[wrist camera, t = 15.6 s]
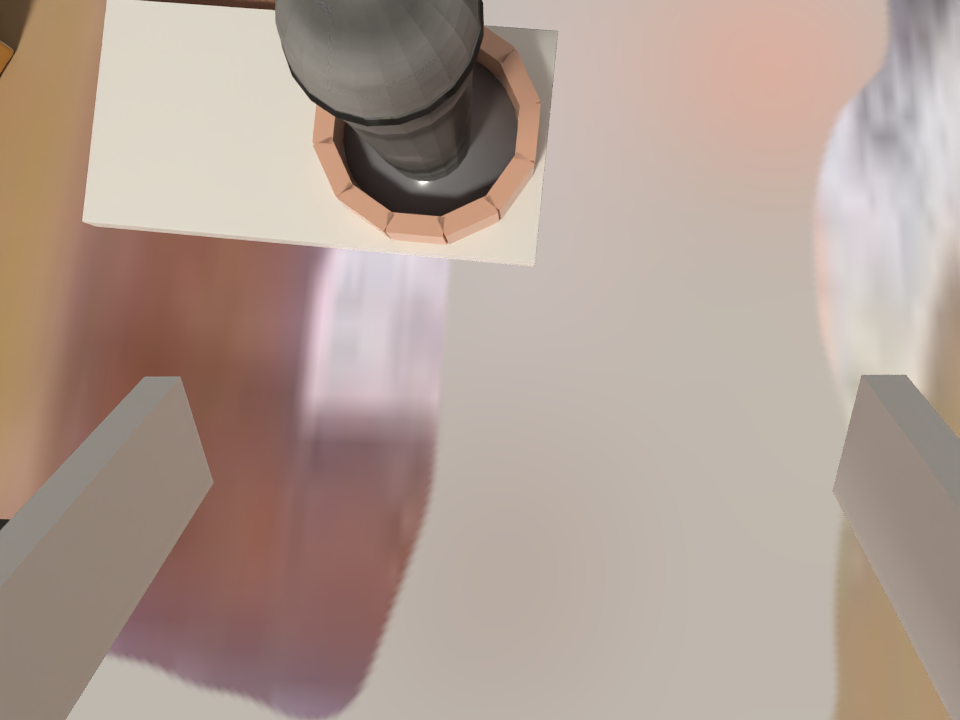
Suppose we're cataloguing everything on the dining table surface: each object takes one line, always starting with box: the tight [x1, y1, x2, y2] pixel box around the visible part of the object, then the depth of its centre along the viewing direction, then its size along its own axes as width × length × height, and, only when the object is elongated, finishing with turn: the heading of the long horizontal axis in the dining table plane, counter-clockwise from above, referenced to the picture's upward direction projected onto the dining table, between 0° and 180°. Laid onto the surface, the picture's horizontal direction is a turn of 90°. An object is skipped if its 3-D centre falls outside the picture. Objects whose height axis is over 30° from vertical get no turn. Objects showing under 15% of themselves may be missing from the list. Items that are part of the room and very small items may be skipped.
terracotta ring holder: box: [312, 26, 541, 245], centre depth 36 cm, size 11×11×2 cm
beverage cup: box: [275, 0, 484, 181], centre depth 26 cm, size 7×7×20 cm
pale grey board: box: [82, 0, 558, 266], centre depth 38 cm, size 24×12×1 cm, turn 84°
